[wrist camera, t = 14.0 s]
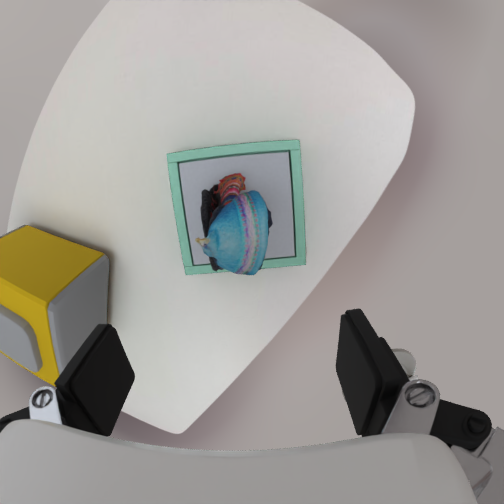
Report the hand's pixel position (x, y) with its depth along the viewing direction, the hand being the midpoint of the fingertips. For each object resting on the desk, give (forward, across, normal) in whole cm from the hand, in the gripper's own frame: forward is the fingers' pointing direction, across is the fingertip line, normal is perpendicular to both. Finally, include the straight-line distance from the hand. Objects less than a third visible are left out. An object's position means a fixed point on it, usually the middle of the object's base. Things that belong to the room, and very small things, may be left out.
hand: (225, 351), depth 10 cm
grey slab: (+26, +1, -1) cm, 26 cm away
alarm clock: (+27, +32, +7) cm, 42 cm away
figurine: (+24, +1, -1) cm, 24 cm away
